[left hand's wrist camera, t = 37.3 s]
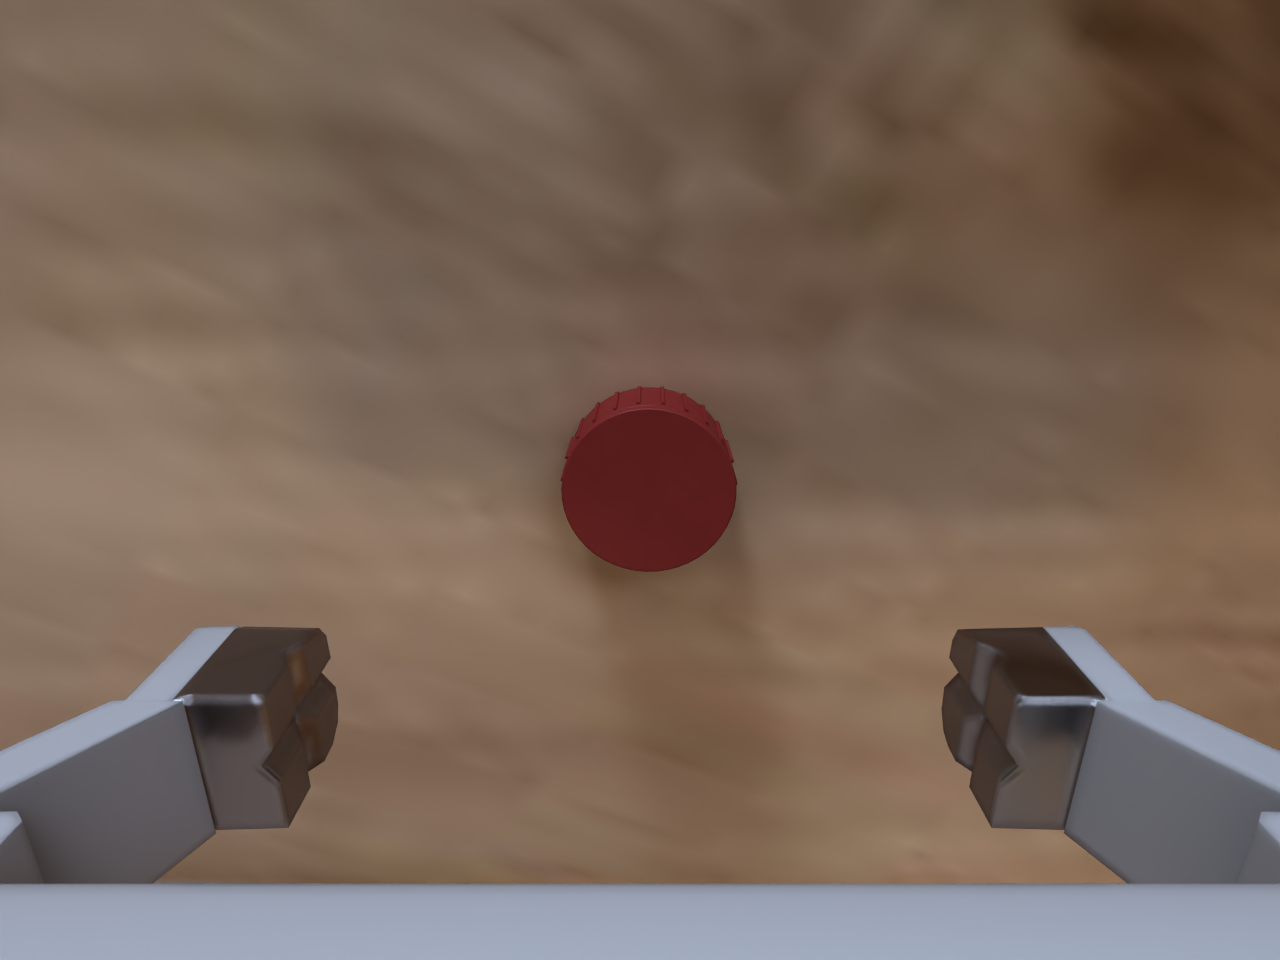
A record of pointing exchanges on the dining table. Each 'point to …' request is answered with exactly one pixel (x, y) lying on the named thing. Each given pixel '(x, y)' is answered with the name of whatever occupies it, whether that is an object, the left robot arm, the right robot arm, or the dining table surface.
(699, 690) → the dining table surface
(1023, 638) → the left robot arm
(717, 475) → the cap
